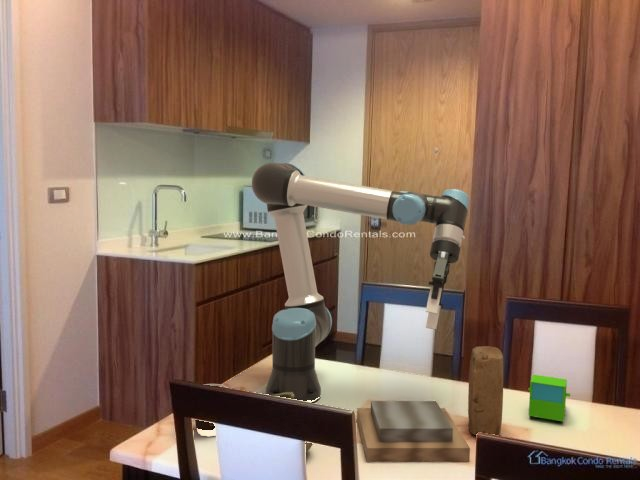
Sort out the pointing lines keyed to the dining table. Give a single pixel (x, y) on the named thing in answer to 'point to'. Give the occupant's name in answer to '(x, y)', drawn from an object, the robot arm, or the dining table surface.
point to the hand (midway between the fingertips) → (431, 321)
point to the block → (485, 390)
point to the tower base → (409, 447)
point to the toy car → (547, 397)
